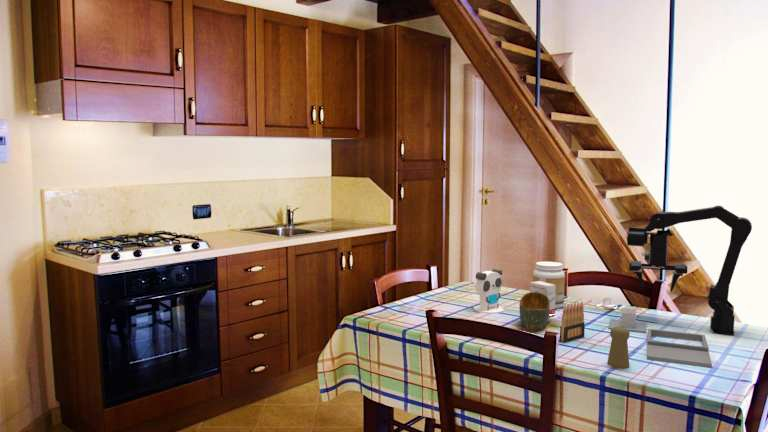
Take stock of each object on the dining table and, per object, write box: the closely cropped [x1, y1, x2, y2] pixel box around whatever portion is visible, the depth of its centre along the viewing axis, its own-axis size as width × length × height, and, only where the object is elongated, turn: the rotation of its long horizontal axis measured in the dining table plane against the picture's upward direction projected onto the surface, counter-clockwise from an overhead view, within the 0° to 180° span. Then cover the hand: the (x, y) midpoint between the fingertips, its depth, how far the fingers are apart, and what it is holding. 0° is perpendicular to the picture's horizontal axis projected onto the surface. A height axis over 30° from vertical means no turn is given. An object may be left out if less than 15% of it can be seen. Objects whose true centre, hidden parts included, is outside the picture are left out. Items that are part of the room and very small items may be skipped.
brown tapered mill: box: [606, 327, 630, 370], centre depth 179 cm, size 6×6×11 cm
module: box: [620, 307, 637, 328], centre depth 219 cm, size 4×7×5 cm, turn 157°
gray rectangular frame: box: [646, 328, 713, 368], centre depth 194 cm, size 17×28×2 cm, turn 157°
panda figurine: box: [473, 268, 505, 314], centre depth 240 cm, size 12×11×15 cm
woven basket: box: [519, 291, 550, 332], centre depth 219 cm, size 13×20×10 cm, turn 136°
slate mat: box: [608, 318, 647, 334], centre depth 219 cm, size 12×12×1 cm
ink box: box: [529, 281, 556, 314], centre depth 234 cm, size 9×5×12 cm, turn 33°
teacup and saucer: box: [595, 296, 618, 310], centre depth 247 cm, size 9×8×4 cm
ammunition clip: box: [559, 301, 586, 344], centre depth 203 cm, size 11×2×12 cm, turn 127°
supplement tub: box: [532, 261, 566, 310], centre depth 247 cm, size 12×12×17 cm
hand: (656, 290), depth 223 cm, fingers open, 9 cm apart
